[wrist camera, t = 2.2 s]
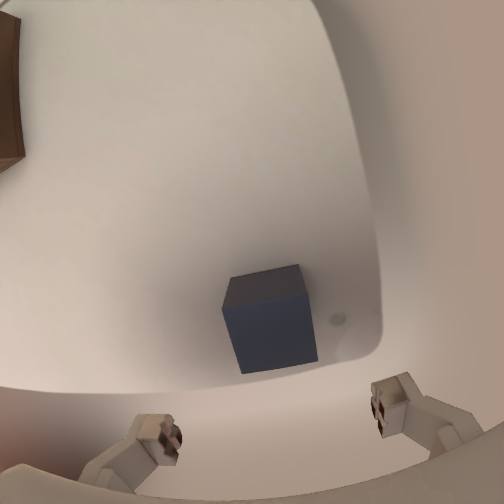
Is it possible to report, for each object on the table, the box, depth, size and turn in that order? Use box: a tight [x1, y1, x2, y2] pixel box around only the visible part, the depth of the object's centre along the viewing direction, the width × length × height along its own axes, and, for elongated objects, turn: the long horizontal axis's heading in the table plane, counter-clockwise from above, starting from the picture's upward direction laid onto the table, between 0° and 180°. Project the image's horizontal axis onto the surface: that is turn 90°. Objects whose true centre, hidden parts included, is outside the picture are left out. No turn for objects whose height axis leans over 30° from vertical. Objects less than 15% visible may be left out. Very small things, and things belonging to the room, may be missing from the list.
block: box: [222, 264, 318, 374], centre depth 18 cm, size 4×4×4 cm
